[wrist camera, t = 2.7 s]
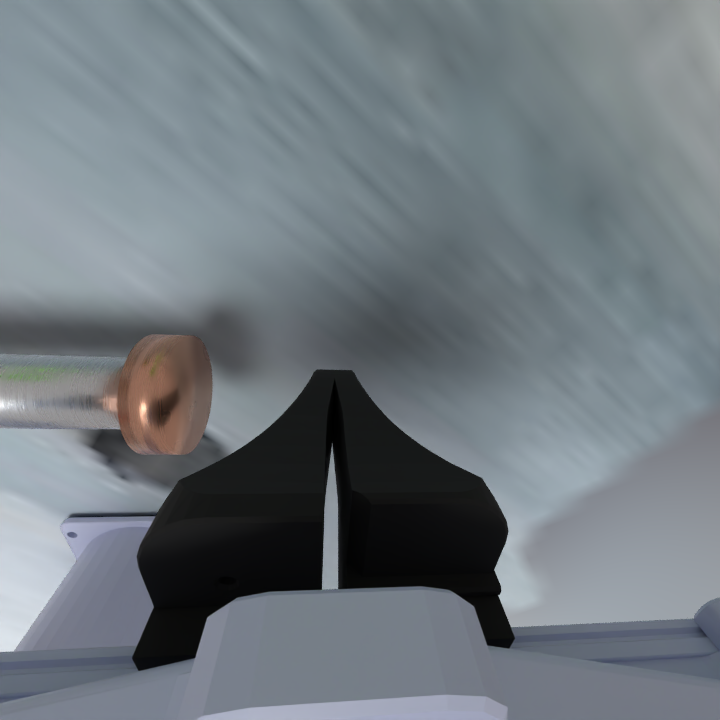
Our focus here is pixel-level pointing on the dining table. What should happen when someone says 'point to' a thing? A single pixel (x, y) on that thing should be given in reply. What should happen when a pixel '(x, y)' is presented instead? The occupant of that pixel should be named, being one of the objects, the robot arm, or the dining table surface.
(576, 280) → the dining table surface
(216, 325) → the dining table surface
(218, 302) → the dining table surface
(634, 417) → the dining table surface
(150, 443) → the shaft
